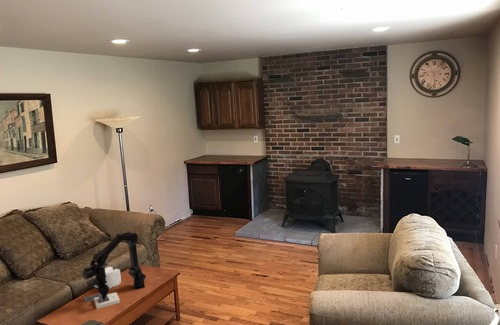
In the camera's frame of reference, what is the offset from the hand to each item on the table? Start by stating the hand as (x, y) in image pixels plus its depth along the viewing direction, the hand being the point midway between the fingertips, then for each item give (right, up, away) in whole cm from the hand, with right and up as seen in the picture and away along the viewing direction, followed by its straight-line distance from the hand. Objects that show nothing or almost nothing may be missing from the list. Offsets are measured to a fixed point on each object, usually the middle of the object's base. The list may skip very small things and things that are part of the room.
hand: (103, 296), depth 254 cm
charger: (0, -4, +1) cm, 4 cm away
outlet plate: (+2, -4, +2) cm, 5 cm away
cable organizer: (-5, -1, +24) cm, 24 cm away
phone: (-7, -4, +8) cm, 11 cm away
